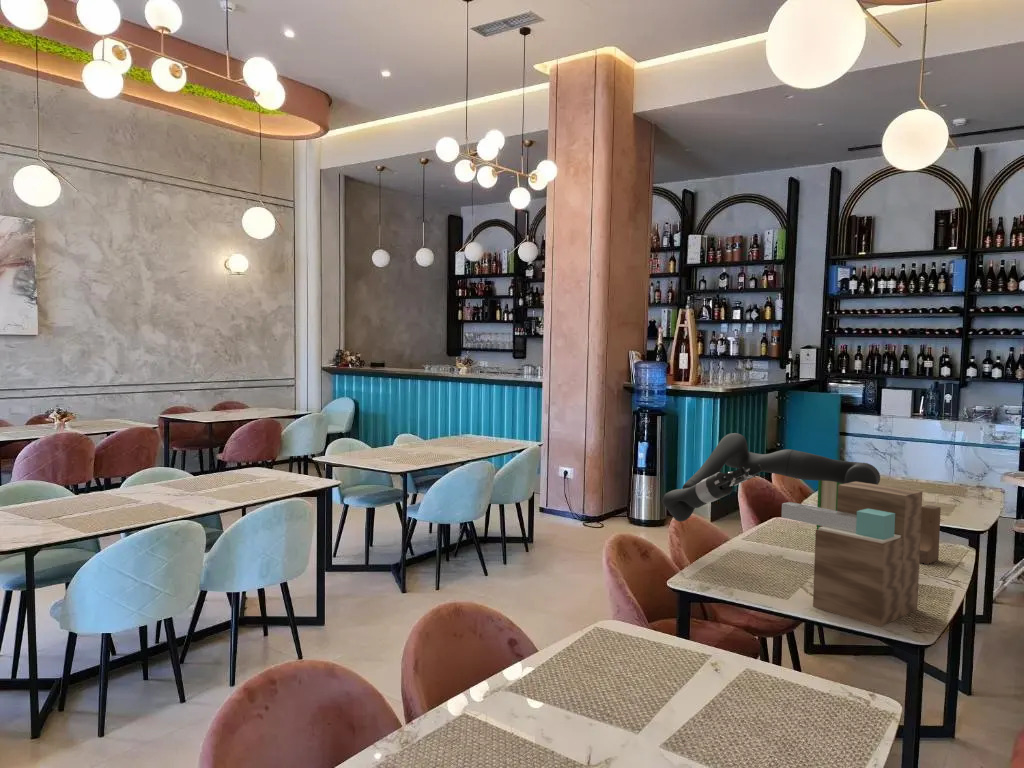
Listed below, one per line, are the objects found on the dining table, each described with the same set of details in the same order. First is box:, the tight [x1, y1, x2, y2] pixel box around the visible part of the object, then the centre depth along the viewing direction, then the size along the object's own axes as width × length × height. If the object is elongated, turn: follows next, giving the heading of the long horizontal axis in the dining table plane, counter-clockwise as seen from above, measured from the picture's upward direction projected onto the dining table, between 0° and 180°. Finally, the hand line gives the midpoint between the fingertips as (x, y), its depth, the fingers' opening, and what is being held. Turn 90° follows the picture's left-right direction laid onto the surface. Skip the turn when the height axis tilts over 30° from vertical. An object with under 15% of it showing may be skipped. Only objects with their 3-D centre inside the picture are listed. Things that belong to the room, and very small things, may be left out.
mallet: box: [781, 501, 895, 540], centre depth 199 cm, size 6×29×6 cm, turn 38°
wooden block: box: [919, 504, 942, 565], centre depth 244 cm, size 9×4×18 cm, turn 128°
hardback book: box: [816, 481, 842, 530], centre depth 273 cm, size 18×7×24 cm, turn 138°
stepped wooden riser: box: [812, 481, 923, 628], centre depth 198 cm, size 21×18×32 cm
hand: (752, 468), depth 224 cm, fingers open, 8 cm apart
